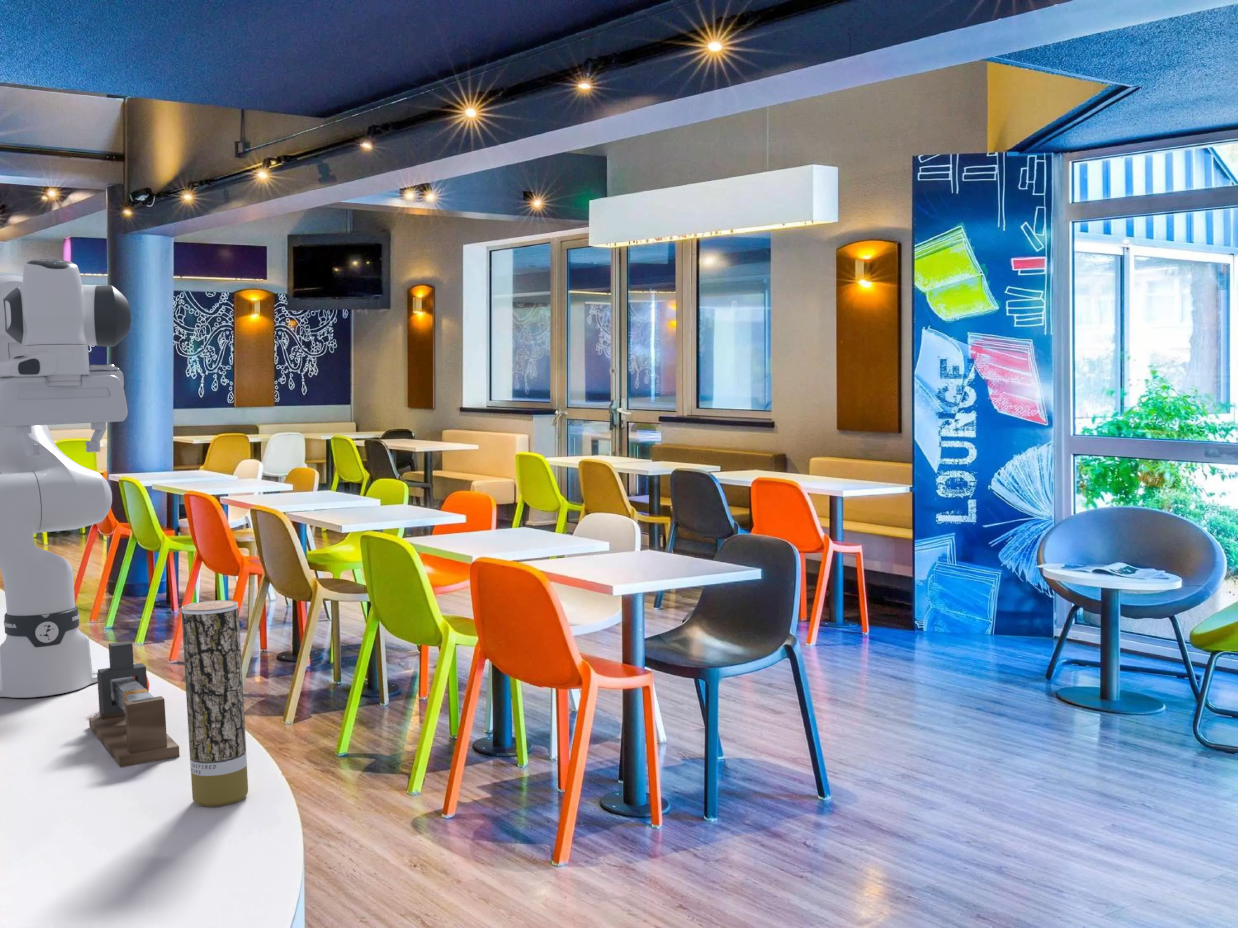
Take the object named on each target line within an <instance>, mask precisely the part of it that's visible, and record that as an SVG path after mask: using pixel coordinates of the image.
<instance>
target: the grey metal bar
mask: <svg viewBox="0 0 1238 928" xmlns="http://www.w3.org/2000/svg"><path fill="white" fill-rule="evenodd" d="M110 683H111V698H112V699H113V700H114V701H115V702H116V703H117V704H118V706H119V707H120V708H121V709H122V710H123V711H124V712H125V704H124V702H127V701H133V702H134V701H135V702H137V701H139V700H140V701H144V700H145V699H146V698H149V699H150V698H151V699H155V698H154V697H155V696H153V695H152V693H150V692H149V691H148V690H147V689H145V688H144V687H143V686H142V685H140V684H139V683H138V682H137V681H136V680H135V679H134V678H133V677H125V678H119V679H112V680H110ZM152 697H153V698H152ZM149 699H146V700H149ZM136 700H137V701H136Z"/></svg>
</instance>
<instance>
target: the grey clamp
mask: <svg viewBox="0 0 1238 928" xmlns="http://www.w3.org/2000/svg"><path fill="white" fill-rule="evenodd" d="M133 649H134V647H133V642H131V641H130V640H126V641H120V642H119V641H118V642H112V643H111V642H110V643H108V655H109V657H108V658H109V667H106V668H99V669H98V668H97V672H98V681H99V696H98V698H99V697H100V711H101V712H102V713H103V715H107V714H113V713H119V712H124V711H123V710H122V709H121V708H120V707H119V706H118V704H117V703H116V702H115V701H112V699H111V683H110V680H112V679H119V678H125V677H132V676H135V680H136V681H137V682H138V683H139V684H140V685H142V686H143V687H144V688H145V689H147V677H148V675H147V666H146V665H145V664H144V663H134V650H133Z"/></svg>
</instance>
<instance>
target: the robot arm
mask: <svg viewBox="0 0 1238 928" xmlns="http://www.w3.org/2000/svg"><path fill="white" fill-rule="evenodd" d="M22 272H23V274H22V275H17V274H3V275H0V572H1V576H2V577H1V578H2V582H3V588H4V597H5V608H6V610H5V611H6V612H5V614H4V617H3V618H4V619H3V626H4V634H5V635H6V637H5V639H4V641H3V642H2V643H1V644H0V698H3V697H4V698H17V699H18V698H19V699H20V698H22V699H23V698H37V697H48V696H54V695H60V694H64V693H70V692H73V691H76V690H77V691H78V690H81V689H83V688H85V687H87V686H89V685H91V684H96V683H98V680H97V673H98V671H95V670H93V664H92V655H91V647H90V646H91V645H90V637H89V636H87V635H86V634H85V633H83V632H82V631H81V630H80V629H79V626H80V613H79V607H78V606H77V605H76V603H75V602H76V600H75V599H76V598H75V597H76V596H75V582H74V581H75V580H74V570H73V567H72V565H71V563H70V561H68V559H66V558H65V557H64V556H61V555H59V554H56V553H54V552H52V551H48V550H46V549H44V548H43V549H42V548H39V547H38V546H37V545H36V543H35V539H34V535H35V534H39V533H51V532H58V531H59V532H62V531H72V530H79V529H82V528H85V527H89V526H92V525H97V524H100V523H103V521H104V520H105V519H106V517H107V516H108V514H109V513H110V510H111V508H112V503H113V493H112V489H111V486H110V484H109V482H108V481H107V480H106V478H105V477H104V476H103V475H102V474H101V473H100V472H98V471H96V470H93V469H90V468H87V467H85V466H82V465H81V464H79V463H77V462H76V461H74V460H72V459H71V458H70V457H68V456H67V455H66V454H65V453H63V451H62V450H61V449H59V448H58V446H57V445H56V443H55V441H54V439H53V437H52V433H51V431H50V429H49V426H53V425H55V426H56V425H72V424H73V425H76V424H90V428H91V430H92V431H93V430H94V431H93V434H92V436H91V438H90V440H85V446H86V448H85V452H87V453H99V452H100V451H101V441H102V438H103V437H104V435H105V432H106V431H107V423H115V422H117V423H118V422H120V423H121V422H124V421H125V420H126V418H127V417H128V412H129V411H128V404H127V399H126V394H125V389H124V387H125V381H124V373H123V372H122V370H121V369H120V368H119V367H117V366H115V365H114V364H111V363H110V364H109V363H107V364H95V363H93V364H92V363H90V360H89V346H98V347H110V348H112V347H113V348H114V347H116V346H117V345H119V344H120V342H122V341H123V339H124V338H125V337H126V336H127V335H128V334H129V332H130V328H131V325H132V324H131V322H132V320H131V319H132V318H131V317H132V315H131V308H130V305H129V301H128V300H127V298H126V297H125V296H124V295H123V293H122V292H120V291H119V290H118V289H117V288H116V287H114V286H113V285H111V284H108V285H107V284H106V285H103V284H102V285H96V286H95V285H90V286H89V285H83V282H82V277H81V272H80V269H79V267H78V265H77V264H76V263H74V262H72V261H69V260H63V259H62V260H59V259H46V258H45V259H43V258H41V259H40V258H39V259H31V260H29V261H27V262H25V263H24V265H23V271H22Z"/></svg>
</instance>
